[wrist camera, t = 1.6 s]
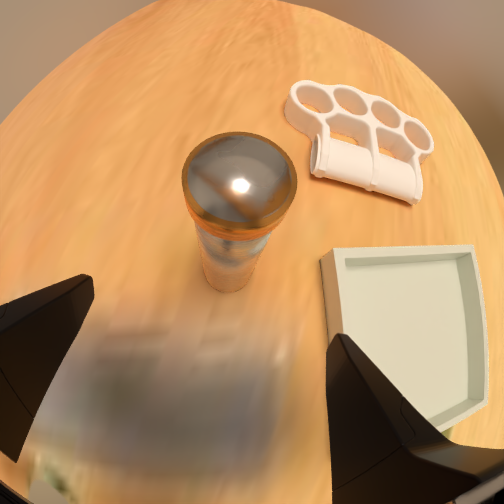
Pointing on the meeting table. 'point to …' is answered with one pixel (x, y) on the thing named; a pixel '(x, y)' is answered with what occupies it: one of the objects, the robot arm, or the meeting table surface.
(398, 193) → the white brass knuckles
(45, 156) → the meeting table surface
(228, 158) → the grey cylinder
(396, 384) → the tray
